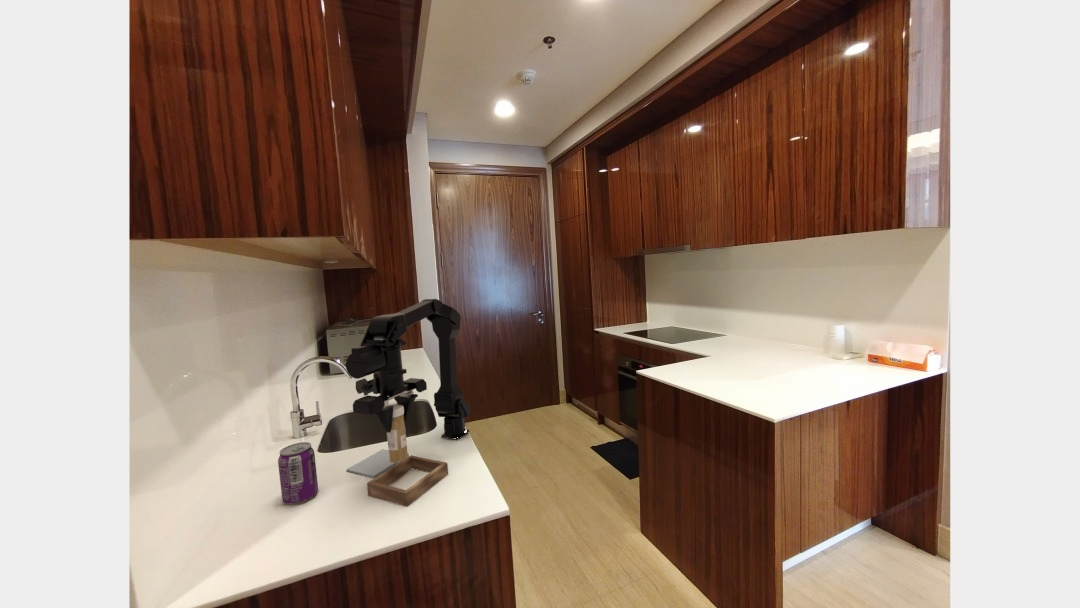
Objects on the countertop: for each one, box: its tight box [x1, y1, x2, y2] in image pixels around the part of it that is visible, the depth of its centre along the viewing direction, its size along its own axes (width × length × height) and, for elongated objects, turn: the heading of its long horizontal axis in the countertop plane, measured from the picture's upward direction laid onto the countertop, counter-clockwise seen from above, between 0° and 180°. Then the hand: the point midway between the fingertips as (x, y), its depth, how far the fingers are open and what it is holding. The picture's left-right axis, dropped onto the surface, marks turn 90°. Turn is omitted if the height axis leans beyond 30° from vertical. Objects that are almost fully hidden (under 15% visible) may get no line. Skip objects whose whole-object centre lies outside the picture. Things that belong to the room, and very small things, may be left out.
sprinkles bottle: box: [386, 404, 409, 464], centre depth 92 cm, size 5×5×14 cm
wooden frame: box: [366, 454, 449, 507], centre depth 90 cm, size 14×12×3 cm
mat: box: [346, 448, 410, 479], centre depth 101 cm, size 12×10×1 cm
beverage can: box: [277, 441, 319, 505], centre depth 86 cm, size 7×7×12 cm
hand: (395, 428), depth 92 cm, fingers closed on sprinkles bottle, 4 cm apart
